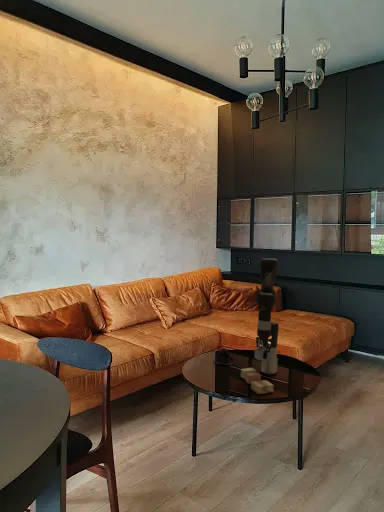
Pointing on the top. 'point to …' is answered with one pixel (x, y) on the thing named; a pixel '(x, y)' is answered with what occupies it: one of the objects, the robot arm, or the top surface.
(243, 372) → the sage brick
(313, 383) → the top surface
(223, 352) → the crystal cluster
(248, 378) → the terracotta brick
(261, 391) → the birch brick
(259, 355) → the slate brick
